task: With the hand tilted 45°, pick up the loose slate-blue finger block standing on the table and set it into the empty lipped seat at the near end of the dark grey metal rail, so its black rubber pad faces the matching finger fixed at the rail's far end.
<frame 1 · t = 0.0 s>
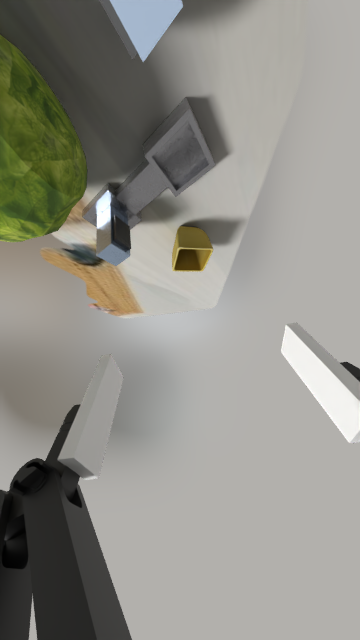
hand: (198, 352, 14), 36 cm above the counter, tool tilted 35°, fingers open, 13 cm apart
rail: (141, 184, 36), on the counter
flower pot: (186, 233, 49), on the counter
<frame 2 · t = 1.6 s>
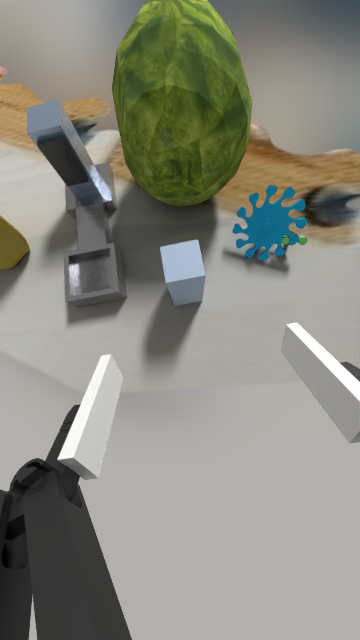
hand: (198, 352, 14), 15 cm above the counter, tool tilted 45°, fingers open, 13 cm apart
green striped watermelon: (186, 175, 35), on the counter
rail: (96, 235, 34), on the counter
flower pot: (15, 252, 35), on the counter
blue finger: (186, 291, 30), on the counter
blue splash shape: (261, 243, 31), on the counter
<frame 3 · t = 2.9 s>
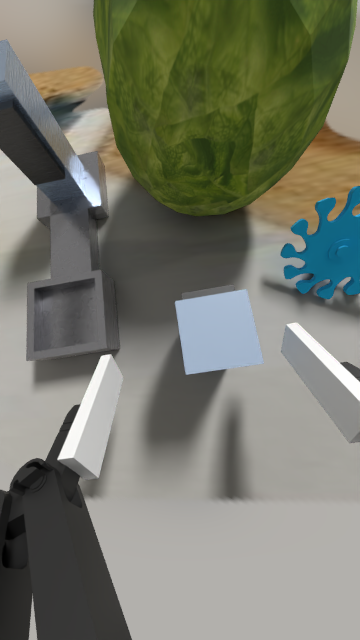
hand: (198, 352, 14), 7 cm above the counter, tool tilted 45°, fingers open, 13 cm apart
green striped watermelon: (206, 171, 25), on the counter
rail: (80, 253, 24), on the counter
blue finger: (207, 341, 21), on the counter
blue splash shape: (318, 270, 21), on the counter
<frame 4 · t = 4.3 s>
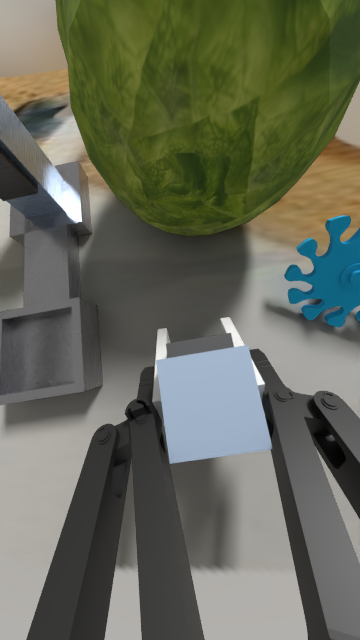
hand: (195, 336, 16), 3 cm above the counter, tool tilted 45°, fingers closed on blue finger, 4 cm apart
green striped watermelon: (199, 182, 23), on the counter
rail: (59, 274, 22), on the counter
blue finger: (201, 376, 18), on the counter, touching gripper
blue splash shape: (326, 292, 19), on the counter
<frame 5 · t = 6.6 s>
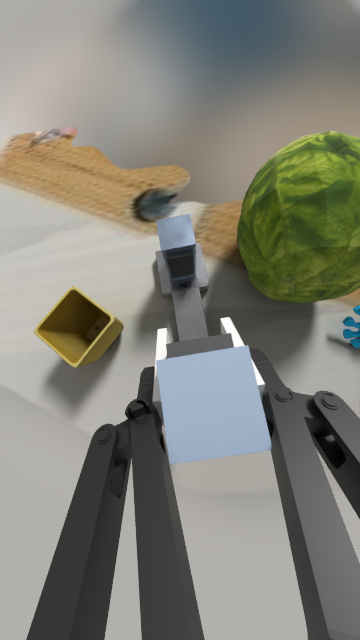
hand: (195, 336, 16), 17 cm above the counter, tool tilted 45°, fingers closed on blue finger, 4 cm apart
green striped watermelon: (277, 255, 35), on the counter
rail: (190, 317, 34), on the counter
flower pot: (104, 332, 35), on the counter
blue finger: (201, 376, 18), point 14 cm above the counter, touching gripper
when the fingers open (7 cm above the counter, at t = 8.7 s): blue finger drops 1 cm, resting on rail.
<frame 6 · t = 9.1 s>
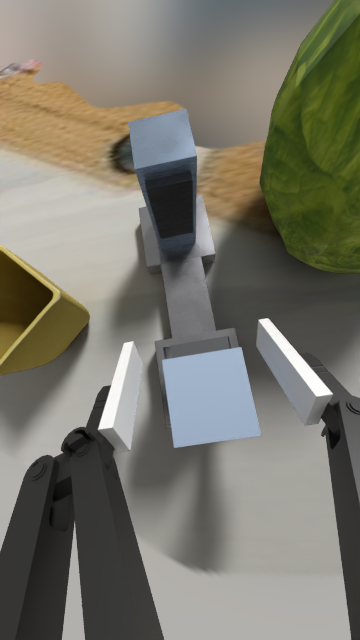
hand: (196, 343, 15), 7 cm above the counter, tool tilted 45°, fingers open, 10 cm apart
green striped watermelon: (311, 214, 24), on the counter
rail: (187, 301, 23), on the counter
flower pot: (66, 323, 24), on the counter
blue finger: (201, 375, 20), point 2 cm above the counter, touching rail
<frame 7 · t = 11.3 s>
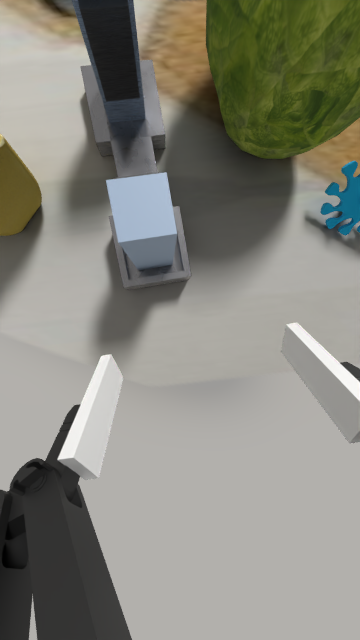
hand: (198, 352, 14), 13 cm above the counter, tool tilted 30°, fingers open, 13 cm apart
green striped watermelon: (258, 105, 26), on the counter
rail: (140, 188, 25), on the counter
flower pot: (16, 206, 24), on the counter
blue finger: (152, 250, 24), point 2 cm above the counter, touching rail
blue splash shape: (342, 212, 28), on the counter
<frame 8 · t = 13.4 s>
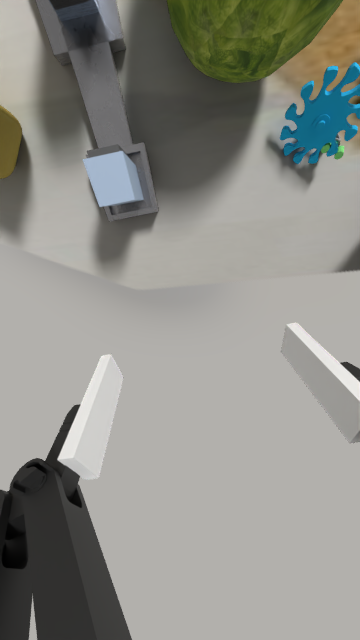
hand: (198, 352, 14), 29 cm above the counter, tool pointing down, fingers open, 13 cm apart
rail: (107, 110, 26), on the counter
flower pot: (1, 135, 27), on the counter
blue finger: (126, 186, 29), point 2 cm above the counter, touching rail
blue splash shape: (305, 133, 29), on the counter
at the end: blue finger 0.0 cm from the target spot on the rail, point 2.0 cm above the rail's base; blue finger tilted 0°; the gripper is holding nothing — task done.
